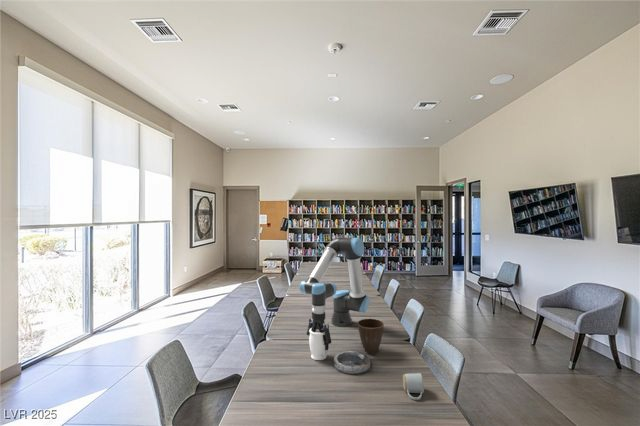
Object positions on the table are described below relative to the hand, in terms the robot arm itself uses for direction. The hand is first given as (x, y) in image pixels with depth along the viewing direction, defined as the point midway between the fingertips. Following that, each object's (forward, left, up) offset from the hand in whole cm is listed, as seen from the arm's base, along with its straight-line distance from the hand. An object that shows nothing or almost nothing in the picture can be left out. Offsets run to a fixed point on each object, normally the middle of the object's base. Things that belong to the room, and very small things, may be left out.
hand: (318, 352), depth 162 cm
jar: (0, 0, -3) cm, 3 cm away
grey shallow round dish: (+18, +7, -3) cm, 20 cm away
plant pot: (+15, +27, -3) cm, 31 cm away
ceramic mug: (+53, +9, -3) cm, 54 cm away
